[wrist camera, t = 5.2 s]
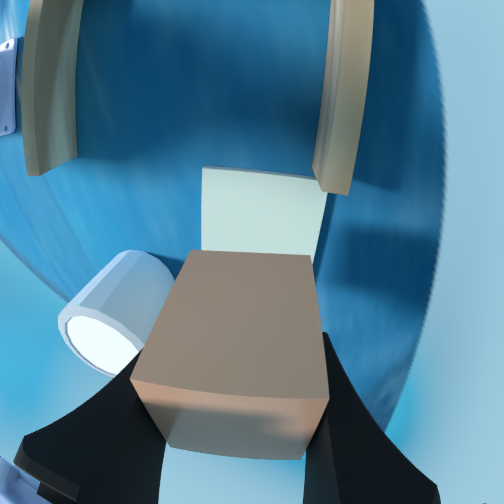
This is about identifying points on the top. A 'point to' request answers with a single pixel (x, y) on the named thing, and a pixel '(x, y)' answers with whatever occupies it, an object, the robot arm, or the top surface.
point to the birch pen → (64, 84)
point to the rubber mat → (260, 211)
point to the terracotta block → (237, 357)
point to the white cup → (116, 311)
